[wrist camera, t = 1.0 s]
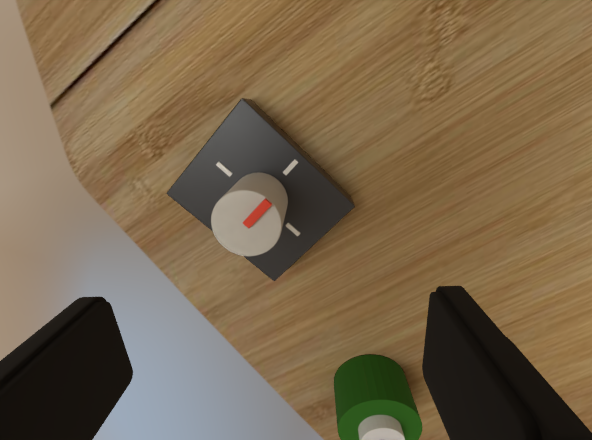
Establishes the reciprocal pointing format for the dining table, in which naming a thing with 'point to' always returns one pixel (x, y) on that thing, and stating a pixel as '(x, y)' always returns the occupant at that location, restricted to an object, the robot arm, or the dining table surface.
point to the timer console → (271, 160)
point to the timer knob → (250, 215)
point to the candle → (374, 401)
